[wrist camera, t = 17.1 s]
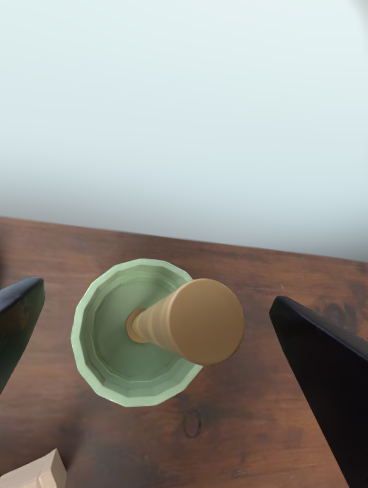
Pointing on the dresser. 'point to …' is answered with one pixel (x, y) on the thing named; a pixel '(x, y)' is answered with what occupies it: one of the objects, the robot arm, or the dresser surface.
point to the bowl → (117, 341)
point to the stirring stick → (192, 323)
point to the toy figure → (37, 474)
